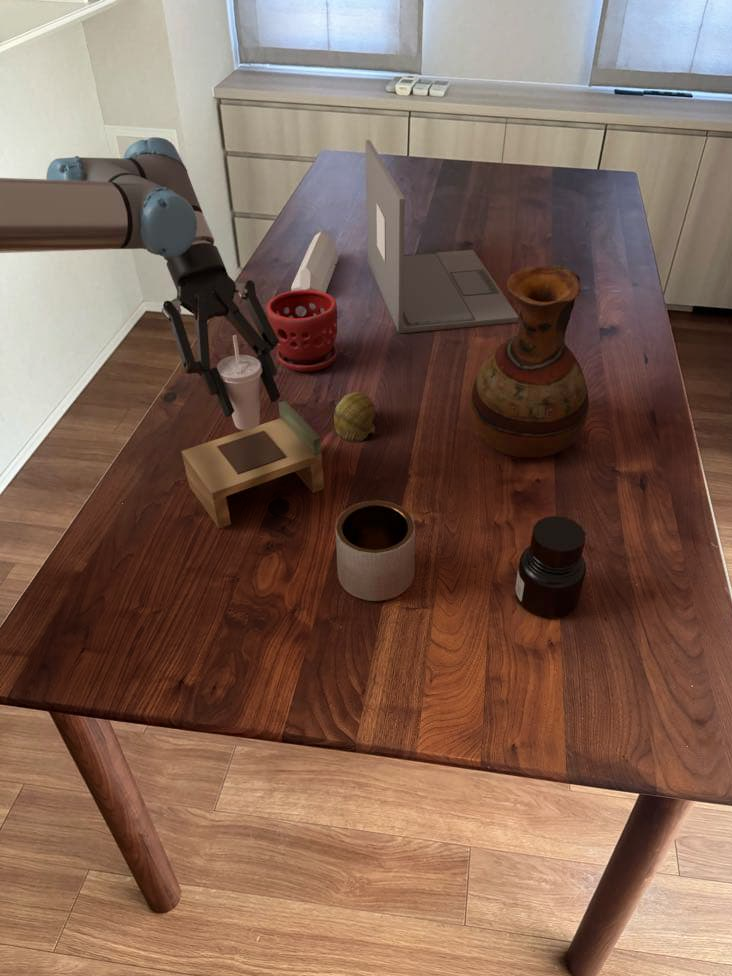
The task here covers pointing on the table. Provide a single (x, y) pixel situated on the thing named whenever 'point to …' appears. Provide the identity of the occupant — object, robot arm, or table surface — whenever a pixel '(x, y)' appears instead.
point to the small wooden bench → (253, 461)
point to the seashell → (354, 417)
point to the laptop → (424, 268)
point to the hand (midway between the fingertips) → (253, 406)
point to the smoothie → (242, 387)
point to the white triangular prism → (317, 265)
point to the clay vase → (533, 371)
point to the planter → (375, 550)
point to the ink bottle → (552, 568)
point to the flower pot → (304, 329)
